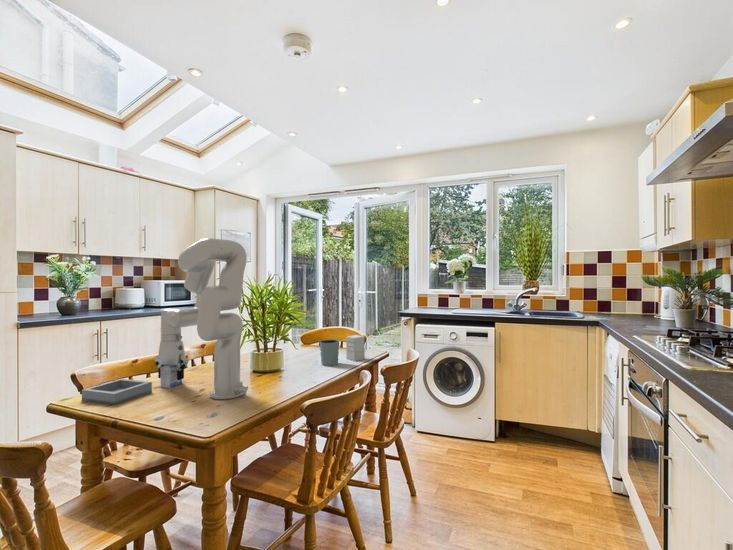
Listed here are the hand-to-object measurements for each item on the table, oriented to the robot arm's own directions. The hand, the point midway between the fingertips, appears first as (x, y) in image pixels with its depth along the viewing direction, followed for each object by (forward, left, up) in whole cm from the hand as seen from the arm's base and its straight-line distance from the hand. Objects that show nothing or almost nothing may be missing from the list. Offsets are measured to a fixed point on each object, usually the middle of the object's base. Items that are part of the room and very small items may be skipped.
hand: (171, 378), depth 163 cm
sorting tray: (+8, +18, -3) cm, 20 cm away
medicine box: (0, 0, -3) cm, 3 cm away
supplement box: (-58, -69, -3) cm, 90 cm away
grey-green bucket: (-49, -54, -3) cm, 73 cm away
